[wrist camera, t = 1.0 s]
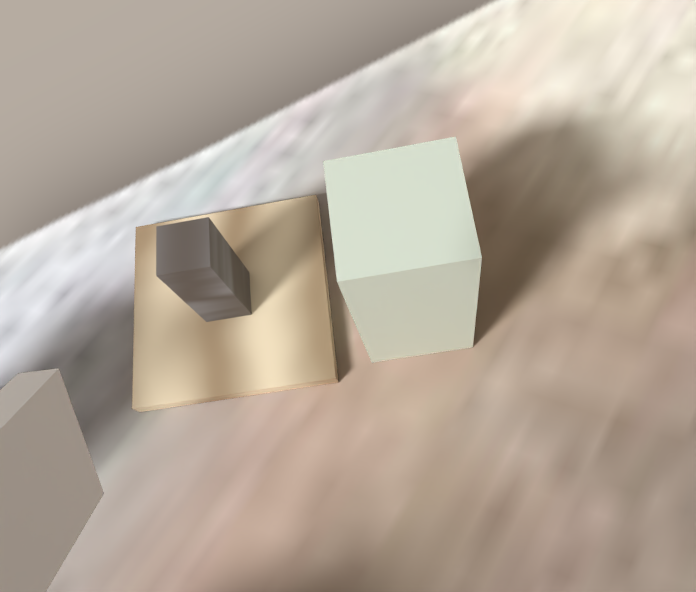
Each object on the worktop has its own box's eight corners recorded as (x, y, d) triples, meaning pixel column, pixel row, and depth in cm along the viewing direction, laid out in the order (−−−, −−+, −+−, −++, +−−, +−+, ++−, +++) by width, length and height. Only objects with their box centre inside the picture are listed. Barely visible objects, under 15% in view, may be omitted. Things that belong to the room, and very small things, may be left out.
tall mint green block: (454, 255, 38) (455, 136, 27) (472, 347, 36) (481, 257, 25) (360, 271, 39) (323, 161, 28) (371, 362, 36) (336, 281, 25)
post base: (318, 202, 41) (289, 126, 33) (338, 382, 36) (309, 339, 29) (142, 234, 42) (77, 167, 35) (139, 412, 37) (63, 378, 30)
